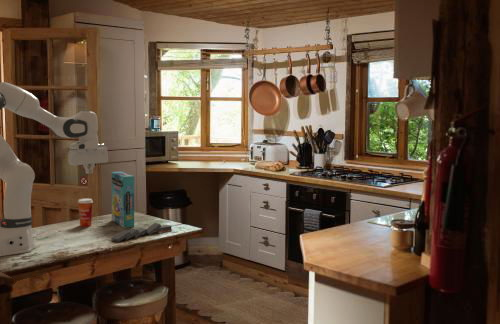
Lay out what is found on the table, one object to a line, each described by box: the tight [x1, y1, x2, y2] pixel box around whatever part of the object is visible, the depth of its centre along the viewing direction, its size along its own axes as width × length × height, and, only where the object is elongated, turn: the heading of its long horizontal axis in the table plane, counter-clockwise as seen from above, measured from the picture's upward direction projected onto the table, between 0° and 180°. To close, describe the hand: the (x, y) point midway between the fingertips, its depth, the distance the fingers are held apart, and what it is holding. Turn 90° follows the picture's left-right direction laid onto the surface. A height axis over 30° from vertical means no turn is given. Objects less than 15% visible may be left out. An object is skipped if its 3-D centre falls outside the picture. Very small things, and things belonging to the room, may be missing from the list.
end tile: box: [154, 228, 173, 234], centre depth 283 cm, size 2×4×8 cm
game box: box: [111, 171, 135, 228], centre depth 298 cm, size 20×6×27 cm, turn 31°
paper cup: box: [77, 198, 94, 228], centre depth 291 cm, size 8×8×14 cm
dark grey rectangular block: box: [111, 229, 131, 243], centre depth 263 cm, size 2×4×8 cm
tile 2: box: [122, 228, 139, 241], centre depth 267 cm, size 2×4×8 cm
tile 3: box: [132, 227, 147, 239], centre depth 272 cm, size 2×4×8 cm
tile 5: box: [156, 224, 172, 231], centre depth 282 cm, size 2×4×8 cm
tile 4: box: [143, 222, 162, 236], centre depth 277 cm, size 2×4×8 cm
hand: (89, 173), depth 266 cm, fingers closed
